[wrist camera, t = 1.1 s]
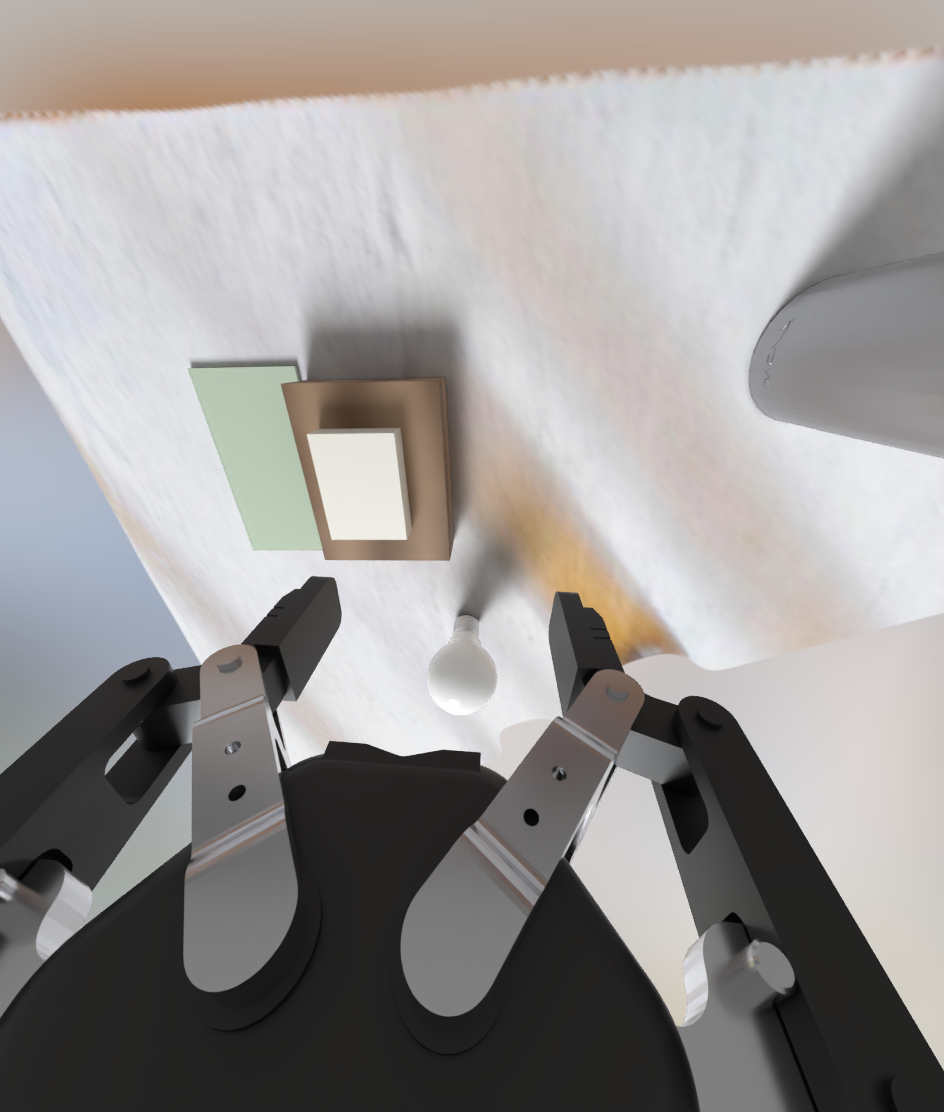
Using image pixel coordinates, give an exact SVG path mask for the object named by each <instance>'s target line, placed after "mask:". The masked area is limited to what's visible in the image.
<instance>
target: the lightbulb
mask: <svg viewBox="0 0 944 1112" xmlns="http://www.w3.org/2000/svg"><path fill="white" fill-rule="evenodd" d="M478 633H479V623H478V621H477V620H476V619H475V618H474V617H472V616H468V615H464V616H460V617H458V618H457V619H456V620H455V623H454V630H453V636H452V637H451V638H450V640H449V642H448V644H446V645H445V646H443V647H442V648H441V649H440V650H439V651H438V652H437V653H436V654H435V655H434V657H433V658H432V660H431V662H430V664H429V667H428V671H427V685H428V690H429V692H430V695H431V697H432V698H433V700H434V701H435V703H436V704H437V705H438V706H439V707H440V708H442V709H443V710H445V711H447V712H449V713H451V714H455V715H468V714H472V713H475V712H477V711H479V710H480V709H482V708H483V707H484V706H485V705H486V704H487V703H488V702H489V701H490V699H491V698H492V696H493V694H494V692H495V689H496V684H497V671H496V667H495V664H494V661H493V659H492V658H491V656H490V655H489V653H488V652H487V651H486V650H485V649H484V648H483V647H482V646H481V642H480V640H479V638H478V635H479V634H478Z"/></svg>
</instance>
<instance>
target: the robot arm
mask: <svg viewBox="0 0 944 1112" xmlns="http://www.w3.org/2000/svg"><path fill="white" fill-rule="evenodd" d="M749 387H750V392H751V396H752V399H753V400H754V402H755V404H756V406H757V407H758V408H759V409H760V410H761V411H762V412H763V413H764V414H765V415H766V416H768V417H770V418H772V419H774V420H778V421H782V422H786V423H791V424H795V425H799V426H804V427H808V428H812V429H816V430H820V431H824V432H829V433H833V434H837V435H842V436H846V437H851V438H855V439H859V440H864V441H868V442H873V443H877V444H882V445H886V446H890V447H895V448H899V449H904V450H908V451H912V452H917V453H921V454H926V455H930V456H935V457H939V458H943V459H944V252H942V253H937V254H933V255H928V256H924V257H920V258H915V259H911V260H907V261H902V262H897V263H892V264H888V265H884V266H879V267H875V268H871V269H866V270H862V271H858V272H854V273H849V274H845V275H841V276H837V277H833V278H829V279H826V280H824V281H822V282H820V283H818V284H815V285H813V286H811V287H809V288H808V289H807V290H805V291H804V292H802V293H801V294H799V295H798V296H796V297H795V298H794V299H793V300H791V301H790V302H789V303H788V304H787V305H786V306H785V307H784V308H783V309H782V310H781V311H780V312H779V313H778V314H777V315H776V317H775V318H774V319H773V320H772V321H771V323H770V324H769V325H768V327H767V328H766V330H765V332H764V333H763V335H762V337H761V338H760V340H759V342H758V344H757V347H756V349H755V352H754V354H753V357H752V361H751V366H750V370H749ZM341 616H342V613H341V606H340V601H339V596H338V590H337V585H336V581H335V579H334V578H333V577H317V576H312V577H310V578H309V579H308V580H307V581H306V583H305V584H304V585H303V586H302V587H301V589H295V590H293V591H291V592H290V593H288V594H287V595H285V596H283V597H282V598H281V599H280V600H279V602H278V603H277V604H276V605H275V606H274V609H272V610H271V611H270V612H269V613H268V614H267V617H264V619H263V620H262V621H261V622H260V623H259V624H258V625H257V626H256V628H255V629H254V630H253V631H252V632H251V633H250V634H249V636H248V637H247V638H246V639H245V640H244V641H243V642H242V643H241V645H233V646H229V647H226V648H223V649H221V650H219V651H217V652H215V653H214V654H212V655H211V656H210V657H208V658H207V659H206V660H205V661H204V663H203V664H202V665H200V666H194V667H188V668H182V669H176V670H173V669H172V667H171V665H170V664H169V662H168V661H167V660H166V659H164V658H160V657H152V658H146V659H142V660H139V661H136V662H133V663H131V664H129V665H127V666H125V667H123V668H121V669H120V670H118V671H117V672H115V673H114V674H113V675H111V676H110V677H109V678H108V679H107V680H106V681H105V682H104V683H103V684H101V685H100V686H99V687H98V688H97V689H96V690H95V691H93V692H92V693H91V694H90V695H89V696H88V697H87V698H86V699H84V700H83V701H82V702H81V703H80V704H79V705H78V706H77V707H75V708H74V709H73V710H72V711H71V712H70V713H69V714H68V715H67V716H65V717H64V718H63V719H62V720H61V721H60V722H59V723H58V724H56V725H55V726H54V727H53V728H52V729H51V730H50V731H49V732H47V733H46V735H44V736H43V737H42V738H41V739H40V740H39V741H37V742H36V743H35V744H34V745H33V746H32V747H31V748H30V749H28V750H27V751H26V752H25V753H24V754H23V755H22V756H21V757H19V758H18V759H17V760H16V761H15V762H14V763H13V764H12V765H11V766H9V767H8V768H7V769H6V770H5V771H4V772H3V773H2V774H0V1112H944V1071H943V1069H942V1067H941V1065H940V1064H939V1062H938V1060H937V1059H936V1057H935V1055H934V1053H933V1052H932V1050H931V1048H930V1047H929V1045H928V1043H927V1042H926V1040H925V1038H924V1037H923V1035H922V1033H921V1031H920V1030H919V1028H918V1026H917V1025H916V1023H915V1021H914V1020H913V1018H912V1016H911V1015H910V1013H909V1011H908V1010H907V1008H906V1006H905V1005H904V1003H903V1001H902V999H901V998H900V996H899V994H898V993H897V991H896V989H895V987H894V986H893V984H892V982H891V981H890V979H889V977H888V976H887V974H886V972H885V971H884V969H883V967H882V965H881V964H880V962H879V960H878V959H877V957H876V955H875V954H874V952H873V950H872V949H871V947H870V945H869V944H868V942H867V940H866V938H865V937H864V935H863V933H862V932H861V930H860V928H859V927H858V925H857V923H856V922H855V920H854V918H853V916H852V915H851V913H850V911H849V910H848V908H847V906H846V905H845V903H844V901H843V900H842V898H841V896H840V895H839V893H838V891H837V889H836V888H835V886H834V885H833V883H832V881H831V879H830V878H829V876H828V874H827V872H826V871H825V869H824V867H823V866H822V864H821V862H820V861H819V859H818V857H817V856H816V854H815V852H814V851H813V849H812V847H811V846H810V844H809V842H808V840H807V839H806V837H805V835H804V834H803V832H802V830H801V829H800V827H799V825H798V823H797V822H796V820H795V818H794V817H793V815H792V813H791V812H790V810H789V808H788V807H787V805H786V803H785V802H784V800H783V798H782V796H781V795H780V793H779V791H778V790H777V788H776V786H775V785H774V783H773V781H772V779H771V778H770V776H769V774H768V773H767V771H766V769H765V768H764V766H763V764H762V763H761V761H760V759H759V757H758V756H757V754H756V753H755V751H754V749H753V748H752V746H751V744H750V742H749V741H748V739H747V737H746V736H745V734H744V732H743V730H742V729H741V727H740V725H739V724H738V722H737V721H736V719H735V718H734V717H733V715H732V714H731V713H730V712H729V711H727V710H726V709H725V708H724V707H722V706H721V705H719V704H718V703H716V702H714V701H712V700H709V699H707V698H704V697H699V696H688V697H685V698H684V699H682V700H681V701H680V703H679V705H675V704H672V703H669V702H666V701H662V700H659V699H656V698H653V697H651V696H649V695H647V694H645V693H644V692H643V689H642V688H641V686H640V685H639V684H638V682H637V681H635V680H634V679H633V678H632V677H630V676H629V675H627V674H625V672H624V670H623V667H622V665H621V662H620V660H619V657H618V655H617V653H616V650H615V648H614V645H613V643H612V640H610V635H609V633H608V631H607V628H606V625H605V623H604V620H603V618H602V617H601V616H600V615H599V614H598V613H597V612H596V611H595V610H594V609H593V608H585V607H583V605H582V602H581V600H580V597H579V594H578V593H570V592H556V593H555V597H554V602H553V608H552V613H551V619H550V625H549V644H550V649H551V655H552V660H553V665H554V671H555V676H556V682H557V687H558V692H559V698H560V703H561V709H562V714H563V718H561V717H559V716H558V717H556V718H555V719H554V720H553V721H552V722H551V724H550V725H549V726H548V728H547V729H546V730H545V732H544V733H543V735H542V736H541V737H540V738H539V740H538V741H537V742H536V744H535V745H534V746H533V748H532V749H531V751H530V752H529V753H528V755H527V756H526V757H525V758H524V760H523V761H522V762H521V764H520V765H519V766H518V768H517V769H516V770H515V772H514V773H513V775H512V776H511V777H510V778H509V780H508V781H507V780H506V779H505V778H504V777H502V776H501V775H500V774H498V773H496V772H495V771H493V770H491V769H489V768H487V767H484V766H481V765H480V756H481V753H478V752H465V751H452V750H439V751H433V752H428V753H422V754H416V755H411V756H398V755H395V754H393V753H390V752H387V751H384V750H382V749H379V748H376V747H373V746H371V745H368V744H362V743H349V742H336V741H329V744H328V746H327V748H326V750H325V753H324V754H321V755H317V756H314V757H310V758H308V759H305V760H303V761H300V762H298V763H297V764H295V765H293V766H291V764H290V760H289V756H288V751H287V747H286V743H285V738H284V734H283V730H282V725H281V721H280V717H279V713H278V710H277V708H278V706H279V704H280V703H281V701H282V700H285V701H297V699H298V698H299V696H300V694H301V692H302V691H303V689H304V687H305V685H306V684H307V682H308V680H309V679H310V677H311V675H312V673H313V672H314V670H315V668H316V666H317V665H318V663H319V661H320V660H321V658H322V656H323V654H324V653H325V651H326V649H327V647H328V646H329V644H330V642H331V640H332V639H333V637H334V635H335V634H336V632H337V630H338V628H339V626H340V623H341ZM132 733H133V734H134V735H135V737H136V738H137V740H136V741H135V742H134V743H133V744H132V745H131V746H130V748H129V749H128V750H127V751H126V752H125V753H124V754H123V756H122V757H121V758H120V759H119V760H118V761H117V763H116V764H115V765H114V766H113V767H112V768H111V770H110V771H109V772H108V773H107V774H106V775H105V768H106V765H107V763H108V761H109V759H110V758H111V756H112V755H113V754H114V753H115V752H116V751H117V750H118V748H119V747H120V746H121V745H122V744H123V743H124V742H125V741H126V739H127V738H128V737H129V736H130V735H131V734H132ZM191 750H192V842H191V843H190V844H189V845H188V846H186V847H185V848H183V849H182V850H181V851H180V852H179V853H177V854H176V855H175V856H173V857H172V858H171V859H169V860H168V861H167V862H166V863H164V864H163V865H162V866H160V867H159V868H158V869H157V870H155V871H154V872H153V873H151V874H150V875H149V876H148V877H146V878H145V879H144V880H142V881H141V882H140V883H139V884H137V885H136V886H135V887H133V888H132V889H131V890H130V891H128V892H127V893H126V894H125V895H123V896H122V897H121V898H119V899H118V900H117V901H115V902H114V903H113V904H112V905H110V906H109V907H108V908H106V909H105V910H104V911H103V912H101V913H100V914H99V915H97V916H96V917H95V918H94V919H92V920H91V921H90V922H88V923H87V924H86V925H85V926H83V925H82V924H83V923H84V921H85V919H86V917H87V915H88V913H89V910H90V907H91V903H92V890H93V889H94V888H95V886H96V885H97V883H98V882H99V880H100V879H101V878H102V876H103V875H104V874H105V872H106V870H107V869H108V868H109V866H110V865H111V864H112V862H113V861H114V859H115V858H116V857H117V855H118V854H119V852H120V851H121V849H122V848H123V847H124V845H125V844H126V842H127V841H128V839H129V838H130V837H131V835H132V834H133V832H134V831H135V830H136V828H137V827H138V825H139V824H140V823H141V821H142V820H143V818H144V817H145V815H146V814H147V813H148V811H149V810H150V808H151V807H152V806H153V804H154V803H155V801H156V800H157V798H158V797H159V796H160V794H161V793H162V791H163V790H164V788H165V787H166V786H167V784H168V783H169V781H170V780H171V779H172V777H173V776H174V774H175V773H176V772H177V770H178V769H179V767H180V766H181V765H182V763H183V762H184V760H185V759H186V757H187V756H188V754H189V753H190V752H191ZM617 767H620V768H623V769H626V770H628V771H630V772H633V773H635V774H638V775H640V776H643V777H645V778H648V779H650V780H651V781H652V785H653V788H654V791H655V795H656V798H657V801H658V804H659V808H660V811H661V814H662V817H663V821H664V824H665V827H666V831H667V834H668V837H669V840H670V843H671V847H672V850H673V853H674V857H675V860H676V863H677V866H678V869H679V873H680V876H681V880H682V883H683V886H684V889H685V892H686V896H687V899H688V902H689V905H690V909H691V912H692V915H693V919H694V922H695V925H696V928H697V931H698V935H699V939H698V940H697V941H696V942H695V943H694V944H693V945H692V946H691V947H690V948H689V949H688V951H687V953H686V955H685V958H684V964H683V977H684V983H685V990H686V997H687V1010H686V1016H685V1020H684V1023H683V1026H682V1027H678V1026H676V1025H675V1023H674V1021H673V1018H672V1017H671V1015H670V1012H669V1010H668V1008H667V1007H666V1005H665V1003H664V1001H663V999H662V998H661V996H660V994H659V993H658V991H657V990H656V988H655V986H654V985H653V984H652V982H651V980H650V979H649V978H648V976H647V975H646V973H645V972H644V970H643V969H642V967H641V966H640V965H639V963H638V962H637V960H636V959H635V957H634V956H633V955H632V953H631V952H630V950H629V949H628V947H627V946H626V944H625V943H624V942H623V940H622V939H621V937H620V936H619V934H618V933H617V932H616V930H615V929H614V927H613V926H612V924H611V923H610V922H609V920H608V919H607V917H606V916H605V915H604V913H603V912H602V910H601V909H600V907H599V906H598V904H597V903H596V901H595V900H594V899H593V897H592V896H591V894H590V893H589V891H588V890H587V889H586V887H585V886H584V884H583V883H582V881H581V880H580V878H579V877H578V876H577V874H576V873H575V871H574V870H573V869H572V867H571V866H570V863H571V861H572V859H573V857H574V855H575V853H576V851H577V849H578V847H579V845H580V843H581V841H582V839H583V836H584V834H585V832H586V830H587V828H588V825H589V823H590V821H591V819H592V817H593V815H594V813H595V811H596V809H597V807H598V805H599V803H600V801H601V799H602V797H603V795H604V793H605V791H606V789H607V787H608V785H609V783H610V781H611V778H612V777H613V775H614V773H615V771H616V769H617Z"/></svg>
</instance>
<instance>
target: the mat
mask: <svg viewBox="0 0 944 1112" xmlns="http://www.w3.org/2000/svg"><path fill="white" fill-rule="evenodd" d="M187 369H188V371H189V374H190V377H191V380H192V382H193V385H194V388H195V391H196V393H197V396H198V399H199V402H200V404H201V407H202V410H203V413H204V416H205V418H206V421H207V424H208V427H209V429H210V432H211V435H212V438H213V440H214V443H215V446H216V449H217V451H218V454H219V457H220V460H221V462H222V465H223V468H224V471H225V473H226V476H227V479H228V482H229V484H230V487H231V490H232V493H233V495H234V498H235V501H236V504H237V507H238V509H239V512H240V515H241V518H242V520H243V523H244V526H245V529H246V531H247V534H248V537H249V540H250V542H251V545H252V548H253V550H323V549H322V545H321V541H320V537H319V533H318V529H317V525H316V521H315V518H314V514H313V510H312V506H311V502H310V498H309V494H308V490H307V486H306V482H305V478H304V474H303V470H302V466H301V462H300V459H299V455H298V451H297V447H296V443H295V439H294V435H293V431H292V427H291V423H290V419H289V415H288V411H287V407H286V404H285V400H284V396H283V392H282V388H281V384H282V383H290V382H297V381H300V377H299V373H298V368H297V366H273V367H227V368H187Z"/></svg>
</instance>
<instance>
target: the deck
mask: <svg viewBox="0 0 944 1112" xmlns="http://www.w3.org/2000/svg"><path fill="white" fill-rule="evenodd" d="M281 388H282V392H283V396H284V400H285V404H286V407H287V411H288V415H289V419H290V423H291V427H292V431H293V435H294V439H295V443H296V447H297V451H298V455H299V459H300V462H301V466H302V470H303V474H304V478H305V482H306V486H307V490H308V494H309V498H310V502H311V506H312V510H313V514H314V518H315V521H316V525H317V529H318V533H319V537H320V541H321V545H322V549H323V553H324V557H325V560H448V561H450V556H451V551H452V546H453V541H454V535H453V515H452V495H451V475H450V454H449V434H448V414H447V394H446V378H397V379H345V380H305V381H297V382H290V383H282V384H281ZM354 428H401V437H402V446H403V454H404V463H405V472H406V481H407V490H408V499H409V508H410V517H411V526H412V530H411V532H410V534H409V536H408V539H407V540H332V539H331V535H330V531H329V527H328V522H327V518H326V514H325V510H324V506H323V501H322V497H321V493H320V489H319V484H318V480H317V476H316V472H315V468H314V463H313V459H312V455H311V451H310V447H309V442H308V438H307V434H308V433H311V432H313V431H315V430H318V429H354Z"/></svg>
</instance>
